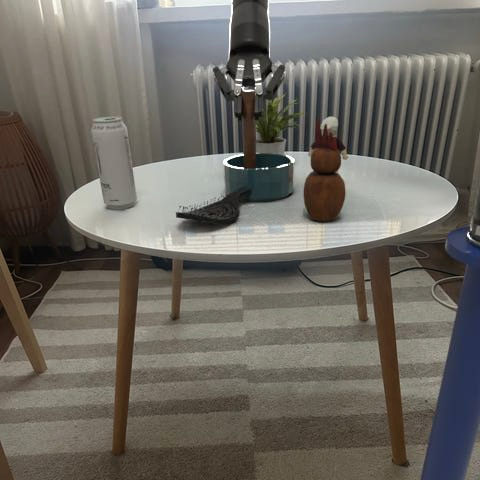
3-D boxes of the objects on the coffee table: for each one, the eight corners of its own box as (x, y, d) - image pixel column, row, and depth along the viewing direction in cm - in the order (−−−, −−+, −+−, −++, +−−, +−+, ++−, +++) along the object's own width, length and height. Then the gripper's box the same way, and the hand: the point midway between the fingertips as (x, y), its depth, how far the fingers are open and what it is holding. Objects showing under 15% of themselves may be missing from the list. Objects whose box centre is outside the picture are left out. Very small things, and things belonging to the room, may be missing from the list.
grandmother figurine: (345, 182, 99) (350, 114, 93) (345, 187, 96) (351, 118, 90) (307, 181, 101) (309, 115, 94) (306, 186, 97) (308, 118, 91)
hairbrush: (281, 179, 92) (206, 210, 73) (281, 198, 93) (208, 235, 74) (243, 175, 95) (162, 204, 76) (243, 194, 97) (164, 227, 78)
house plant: (258, 182, 101) (257, 96, 93) (223, 170, 112) (219, 91, 103) (312, 171, 108) (315, 89, 100) (274, 160, 118) (274, 85, 110)
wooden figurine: (297, 215, 83) (299, 119, 75) (327, 210, 85) (332, 116, 77) (317, 227, 77) (322, 126, 70) (348, 221, 79) (357, 122, 71)
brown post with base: (266, 180, 96) (265, 89, 88) (255, 186, 92) (253, 92, 84) (245, 177, 98) (242, 89, 90) (234, 183, 94) (230, 92, 86)
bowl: (303, 187, 97) (304, 155, 94) (275, 206, 87) (275, 171, 84) (245, 180, 103) (244, 151, 100) (212, 198, 93) (210, 165, 90)
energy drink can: (102, 203, 93) (87, 118, 85) (134, 198, 94) (122, 115, 87) (107, 212, 88) (91, 122, 80) (140, 207, 89) (128, 119, 82)
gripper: (209, 22, 88) (206, 104, 84) (287, 18, 87) (288, 102, 83) (214, 54, 96) (211, 132, 91) (286, 51, 95) (287, 129, 90)
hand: (248, 117), depth 87 cm, fingers closed on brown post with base, 2 cm apart
